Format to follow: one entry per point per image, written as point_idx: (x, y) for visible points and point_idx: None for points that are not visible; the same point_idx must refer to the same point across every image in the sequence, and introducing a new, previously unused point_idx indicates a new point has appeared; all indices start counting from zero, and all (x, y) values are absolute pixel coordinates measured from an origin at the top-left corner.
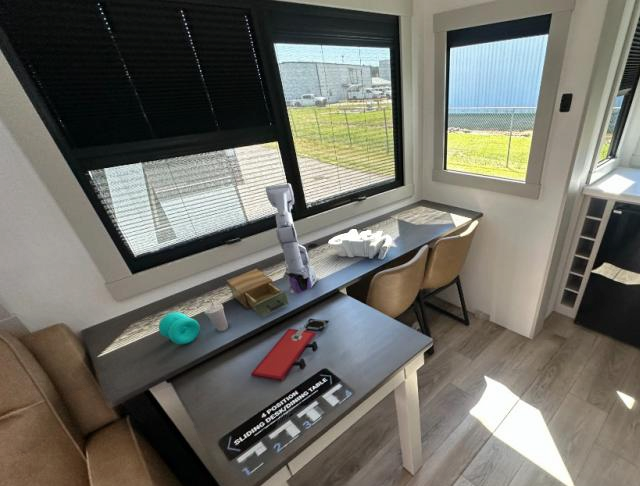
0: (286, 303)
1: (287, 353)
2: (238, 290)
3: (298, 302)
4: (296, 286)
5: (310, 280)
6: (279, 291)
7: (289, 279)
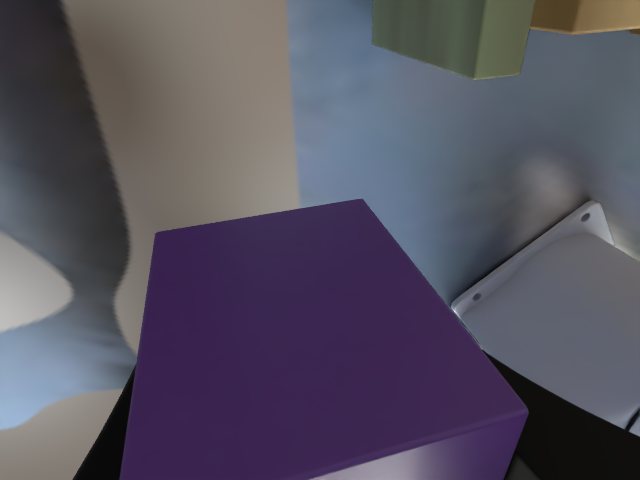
0: (382, 16)
1: None
2: None
3: (348, 147)
4: (138, 379)
5: (489, 354)
6: (575, 6)
7: (500, 398)
